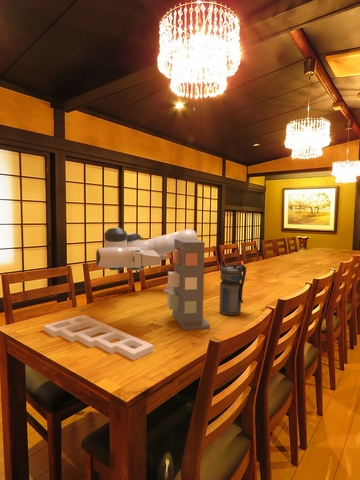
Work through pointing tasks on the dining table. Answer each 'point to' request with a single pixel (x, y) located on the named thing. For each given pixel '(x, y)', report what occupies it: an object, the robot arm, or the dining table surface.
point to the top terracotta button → (176, 256)
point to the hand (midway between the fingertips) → (167, 256)
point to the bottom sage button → (173, 301)
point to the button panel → (190, 284)
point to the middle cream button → (174, 279)
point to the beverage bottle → (231, 288)
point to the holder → (80, 322)
